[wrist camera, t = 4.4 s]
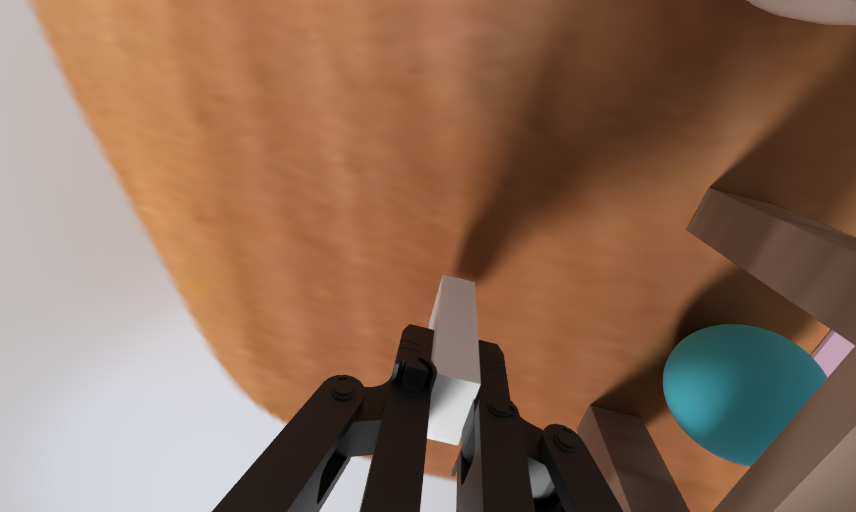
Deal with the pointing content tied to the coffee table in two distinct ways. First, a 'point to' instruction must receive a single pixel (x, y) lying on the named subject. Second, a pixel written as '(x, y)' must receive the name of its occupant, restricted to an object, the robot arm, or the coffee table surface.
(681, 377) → the ball
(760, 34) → the coffee table surface
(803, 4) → the lidded jar
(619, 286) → the coffee table surface
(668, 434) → the coffee table surface
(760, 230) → the bridge
